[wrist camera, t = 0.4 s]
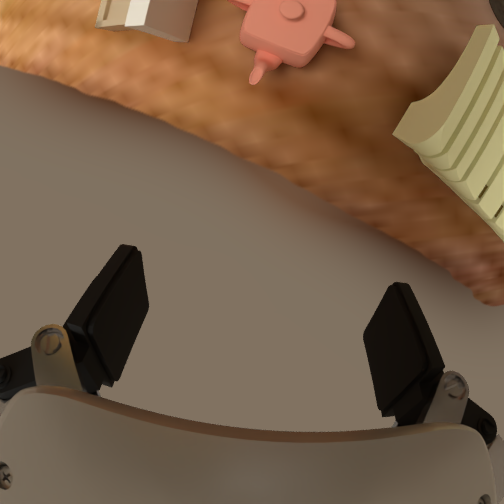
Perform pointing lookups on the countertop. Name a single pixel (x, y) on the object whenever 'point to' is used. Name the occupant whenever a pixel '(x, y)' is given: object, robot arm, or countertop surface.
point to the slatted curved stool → (466, 128)
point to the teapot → (288, 32)
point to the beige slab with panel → (149, 17)
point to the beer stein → (498, 10)
